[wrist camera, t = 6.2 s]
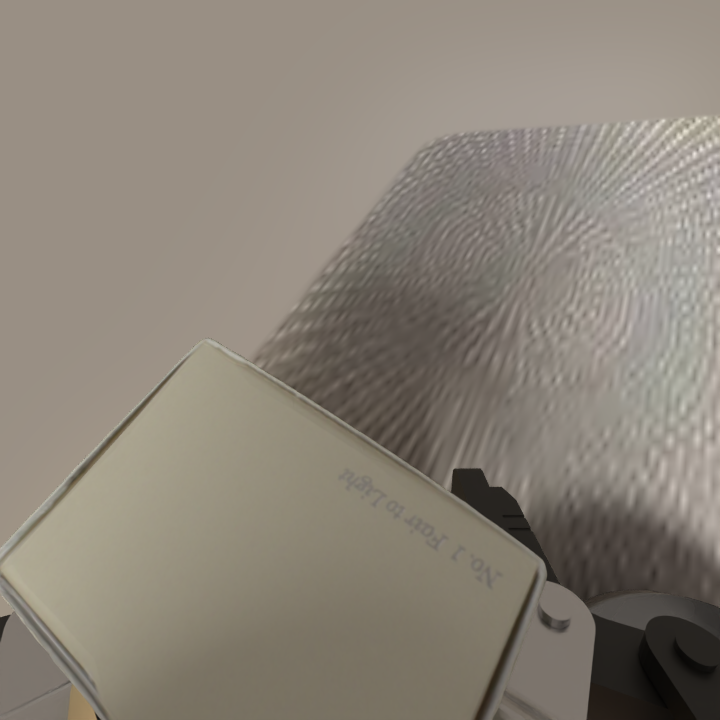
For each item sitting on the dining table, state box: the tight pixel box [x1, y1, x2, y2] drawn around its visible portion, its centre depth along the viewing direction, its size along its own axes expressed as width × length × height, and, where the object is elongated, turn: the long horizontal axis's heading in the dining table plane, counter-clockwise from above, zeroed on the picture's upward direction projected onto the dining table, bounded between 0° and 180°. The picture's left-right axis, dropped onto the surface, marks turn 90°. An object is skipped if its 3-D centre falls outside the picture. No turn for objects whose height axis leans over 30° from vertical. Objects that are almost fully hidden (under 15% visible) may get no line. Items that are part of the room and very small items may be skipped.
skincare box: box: [0, 338, 547, 720], centre depth 10 cm, size 6×4×12 cm
